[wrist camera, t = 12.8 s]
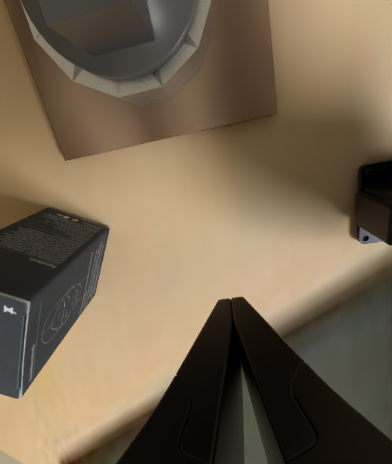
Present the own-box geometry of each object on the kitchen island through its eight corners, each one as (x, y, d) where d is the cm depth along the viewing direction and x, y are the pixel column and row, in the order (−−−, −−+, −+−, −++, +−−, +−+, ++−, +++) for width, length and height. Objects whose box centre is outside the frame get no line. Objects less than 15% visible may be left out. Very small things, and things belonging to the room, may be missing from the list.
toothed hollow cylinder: (194, -104, 14) (188, -210, 9) (222, 86, 17) (227, 70, 13) (41, -52, 15) (-26, -126, 10) (95, 117, 18) (60, 112, 14)
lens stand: (249, -176, 13) (252, -195, 12) (274, 114, 18) (277, 113, 17) (-18, -78, 15) (-30, -89, 14) (70, 159, 20) (65, 160, 19)
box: (48, 205, 21) (-89, 266, 12) (111, 226, 22) (31, 302, 12) (39, 278, 24) (-77, 377, 14) (95, 296, 25) (20, 403, 15)
